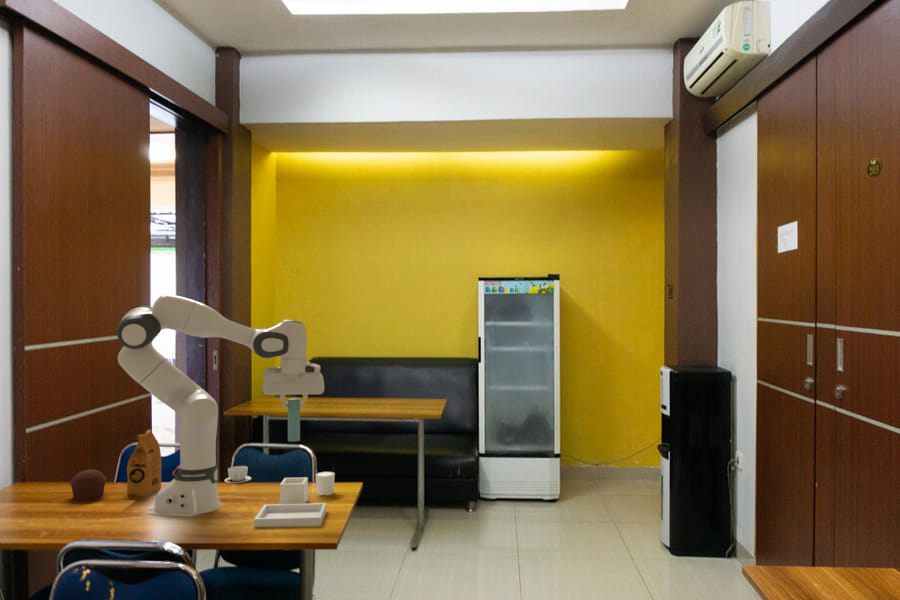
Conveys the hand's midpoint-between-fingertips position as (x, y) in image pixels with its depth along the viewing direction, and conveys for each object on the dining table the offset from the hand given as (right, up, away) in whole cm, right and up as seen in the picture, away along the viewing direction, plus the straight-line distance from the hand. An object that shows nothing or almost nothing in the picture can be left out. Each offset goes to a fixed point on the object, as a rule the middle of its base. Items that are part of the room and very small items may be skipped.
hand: (293, 407), depth 216 cm
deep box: (0, -33, 0) cm, 33 cm away
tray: (+3, -33, -16) cm, 37 cm away
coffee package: (-57, -33, +13) cm, 68 cm away
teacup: (-29, -34, +30) cm, 53 cm away
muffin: (-74, -33, +6) cm, 81 cm away
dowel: (0, -11, 0) cm, 11 cm away
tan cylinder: (+8, -33, +13) cm, 36 cm away
